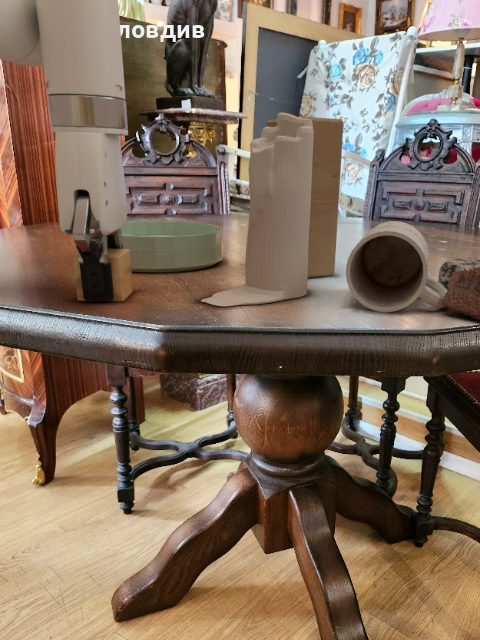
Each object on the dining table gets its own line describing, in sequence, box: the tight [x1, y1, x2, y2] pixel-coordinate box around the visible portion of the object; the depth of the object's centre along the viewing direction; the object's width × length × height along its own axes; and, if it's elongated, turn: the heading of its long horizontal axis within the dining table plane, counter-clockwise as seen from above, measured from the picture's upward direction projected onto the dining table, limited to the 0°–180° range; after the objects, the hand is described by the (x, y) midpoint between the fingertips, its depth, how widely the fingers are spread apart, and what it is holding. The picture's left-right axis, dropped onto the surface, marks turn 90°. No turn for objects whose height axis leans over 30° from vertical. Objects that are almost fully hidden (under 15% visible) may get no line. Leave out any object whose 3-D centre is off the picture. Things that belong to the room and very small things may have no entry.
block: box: [71, 249, 134, 302], centre depth 63 cm, size 5×5×5 cm
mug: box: [345, 220, 447, 313], centre depth 64 cm, size 12×9×10 cm
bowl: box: [90, 220, 224, 273], centre depth 84 cm, size 19×19×5 cm
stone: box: [444, 267, 480, 321], centre depth 59 cm, size 7×7×3 cm
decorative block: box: [265, 116, 344, 279], centre depth 78 cm, size 11×6×20 cm, turn 31°
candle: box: [200, 112, 314, 307], centre depth 62 cm, size 7×14×20 cm, turn 133°
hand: (105, 292), depth 64 cm, fingers closed on block, 5 cm apart
